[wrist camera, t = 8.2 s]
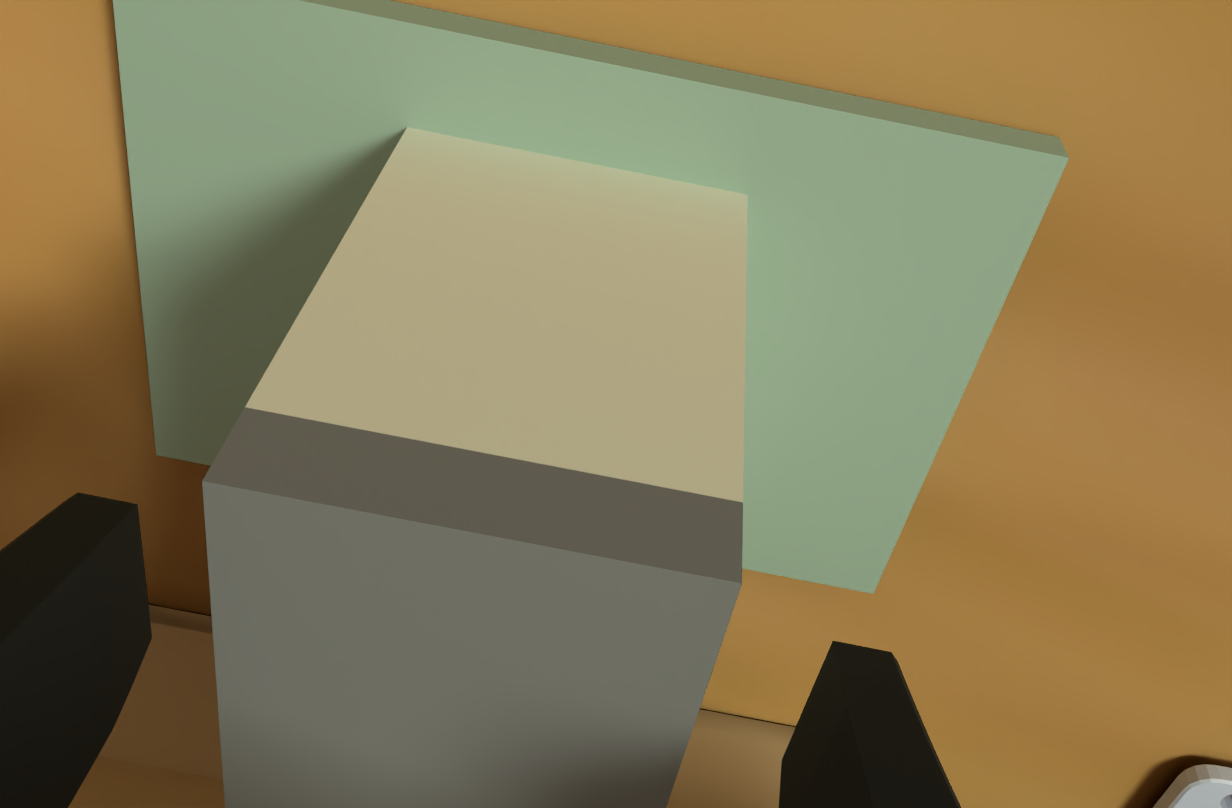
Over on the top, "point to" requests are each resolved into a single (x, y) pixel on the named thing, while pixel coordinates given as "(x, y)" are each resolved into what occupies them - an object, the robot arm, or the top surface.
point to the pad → (603, 135)
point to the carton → (191, 749)
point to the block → (487, 494)
